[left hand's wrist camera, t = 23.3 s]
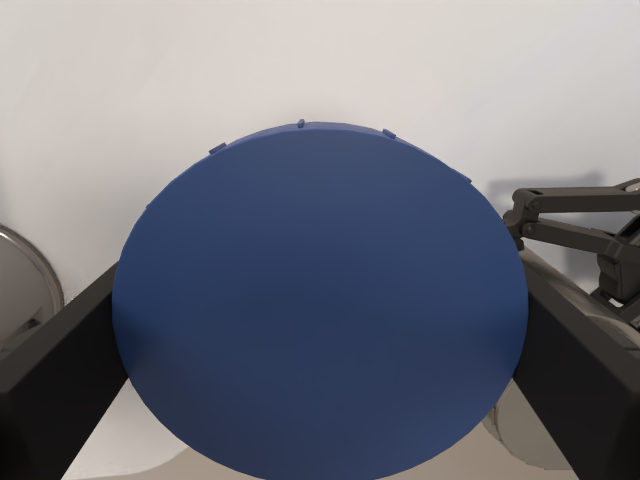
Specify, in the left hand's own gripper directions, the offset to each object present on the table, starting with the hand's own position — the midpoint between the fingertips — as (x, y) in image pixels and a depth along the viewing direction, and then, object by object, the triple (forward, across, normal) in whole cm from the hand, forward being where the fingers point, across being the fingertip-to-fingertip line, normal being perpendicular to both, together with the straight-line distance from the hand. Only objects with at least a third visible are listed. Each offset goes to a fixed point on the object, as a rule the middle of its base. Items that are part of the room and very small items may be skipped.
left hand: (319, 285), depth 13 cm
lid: (-3, 0, 0) cm, 3 cm away
